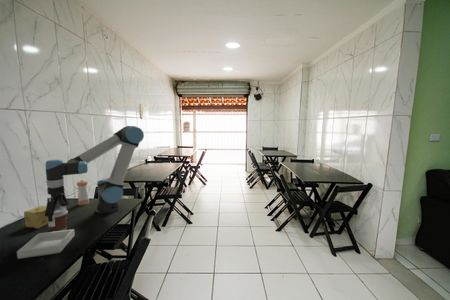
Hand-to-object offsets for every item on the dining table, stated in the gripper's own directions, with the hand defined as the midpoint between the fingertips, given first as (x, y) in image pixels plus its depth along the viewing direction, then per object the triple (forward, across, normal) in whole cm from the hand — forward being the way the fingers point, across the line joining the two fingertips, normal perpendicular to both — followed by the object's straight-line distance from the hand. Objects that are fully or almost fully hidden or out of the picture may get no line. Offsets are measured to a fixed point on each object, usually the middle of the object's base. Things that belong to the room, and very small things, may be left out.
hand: (58, 221), depth 119 cm
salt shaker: (+5, -42, -2) cm, 43 cm away
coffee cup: (+6, 0, 0) cm, 6 cm away
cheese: (+6, -11, -14) cm, 19 cm away
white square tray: (+5, +18, +4) cm, 19 cm away
